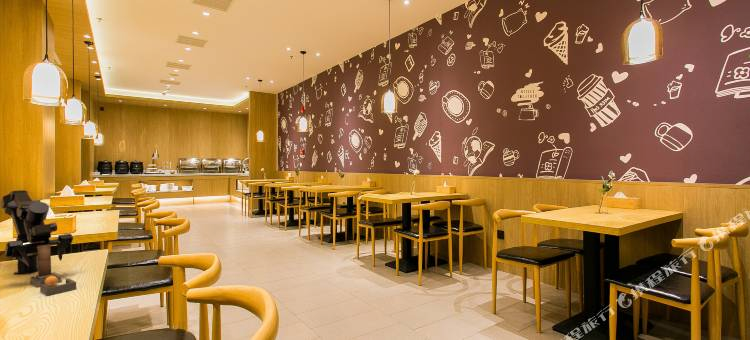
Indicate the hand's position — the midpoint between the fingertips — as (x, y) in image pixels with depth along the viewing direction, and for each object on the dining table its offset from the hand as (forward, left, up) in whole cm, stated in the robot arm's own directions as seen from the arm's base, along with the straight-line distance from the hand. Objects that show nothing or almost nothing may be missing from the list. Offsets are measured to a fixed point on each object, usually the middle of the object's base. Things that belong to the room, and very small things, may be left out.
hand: (45, 262), depth 137 cm
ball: (+5, +4, -6) cm, 9 cm away
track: (0, 0, -8) cm, 8 cm away
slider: (-1, -1, -8) cm, 8 cm away
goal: (+10, +10, -8) cm, 16 cm away
